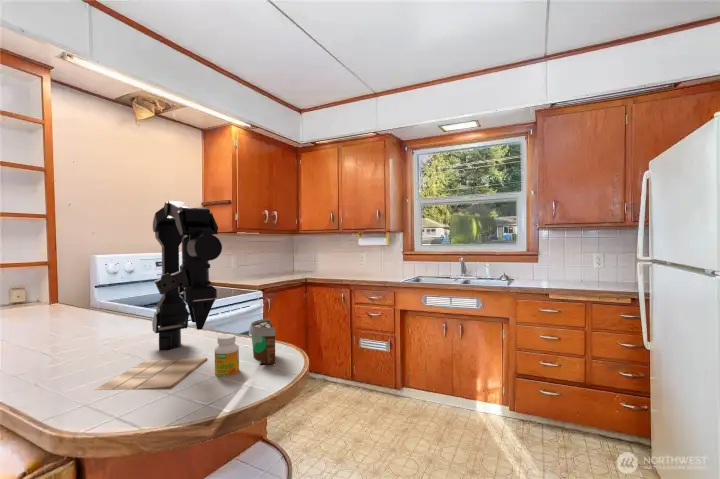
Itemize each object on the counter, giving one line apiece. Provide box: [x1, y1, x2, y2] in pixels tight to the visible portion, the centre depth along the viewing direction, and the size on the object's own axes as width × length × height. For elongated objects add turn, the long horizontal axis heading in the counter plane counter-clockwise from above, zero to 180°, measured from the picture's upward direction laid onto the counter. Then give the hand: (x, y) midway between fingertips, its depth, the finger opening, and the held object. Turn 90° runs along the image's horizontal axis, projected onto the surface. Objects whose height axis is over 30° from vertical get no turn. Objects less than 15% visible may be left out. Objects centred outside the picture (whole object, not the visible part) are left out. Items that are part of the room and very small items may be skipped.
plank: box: [132, 357, 208, 390], centre depth 84 cm, size 18×8×1 cm, turn 0°
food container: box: [248, 318, 276, 366], centre depth 95 cm, size 12×6×10 cm, turn 21°
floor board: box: [93, 359, 176, 391], centre depth 84 cm, size 18×8×1 cm, turn 0°
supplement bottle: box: [214, 333, 240, 377], centre depth 84 cm, size 5×5×10 cm
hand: (196, 325), depth 84 cm, fingers open, 9 cm apart
